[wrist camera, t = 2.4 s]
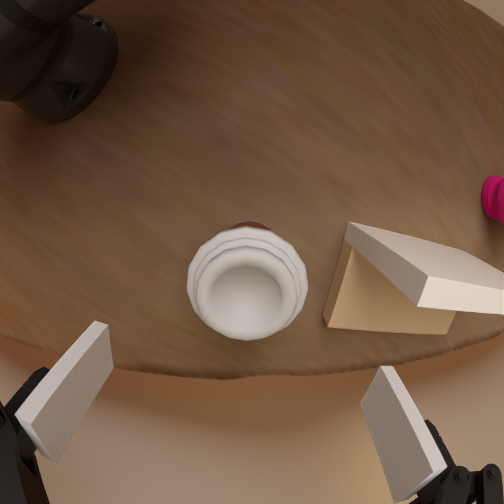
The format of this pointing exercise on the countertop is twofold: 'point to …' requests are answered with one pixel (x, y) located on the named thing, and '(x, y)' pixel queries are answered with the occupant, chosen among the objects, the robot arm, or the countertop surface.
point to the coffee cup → (247, 282)
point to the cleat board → (407, 284)
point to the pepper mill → (494, 198)
